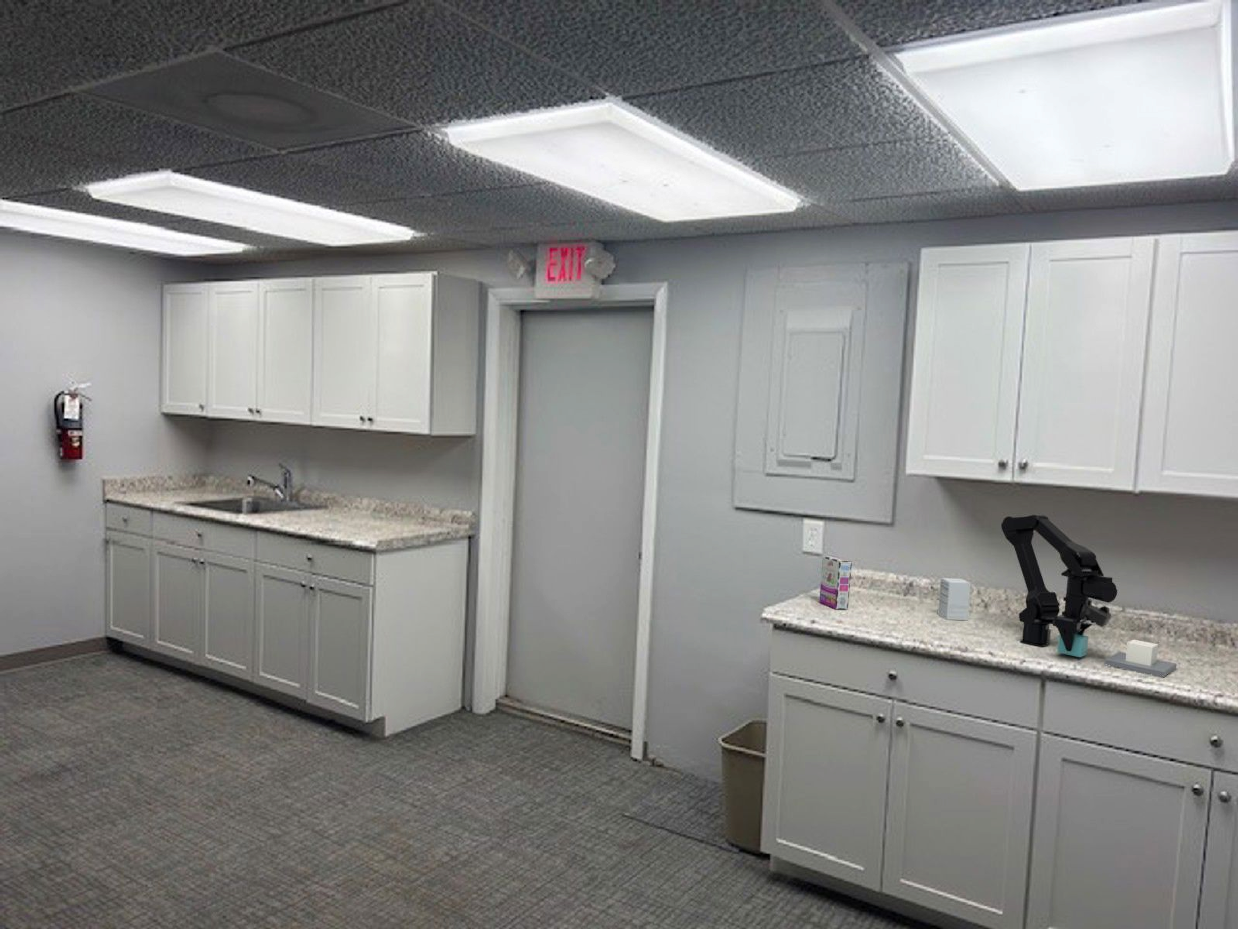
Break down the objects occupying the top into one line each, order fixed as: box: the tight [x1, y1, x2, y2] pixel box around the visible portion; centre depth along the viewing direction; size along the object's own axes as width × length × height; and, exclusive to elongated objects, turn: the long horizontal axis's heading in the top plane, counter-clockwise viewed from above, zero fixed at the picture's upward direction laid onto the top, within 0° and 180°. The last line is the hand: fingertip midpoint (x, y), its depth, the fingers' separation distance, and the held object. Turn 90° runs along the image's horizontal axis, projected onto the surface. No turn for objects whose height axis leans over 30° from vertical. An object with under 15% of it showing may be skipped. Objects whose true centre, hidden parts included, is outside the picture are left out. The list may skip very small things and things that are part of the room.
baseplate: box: [1104, 651, 1178, 679], centre depth 241 cm, size 14×14×2 cm
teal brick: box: [1057, 634, 1089, 658], centre depth 248 cm, size 6×6×5 cm
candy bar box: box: [818, 555, 853, 611], centre depth 297 cm, size 11×5×16 cm, turn 17°
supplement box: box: [937, 577, 972, 622], centre depth 290 cm, size 7×7×13 cm
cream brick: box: [1125, 639, 1159, 666], centre depth 241 cm, size 6×6×5 cm
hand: (1072, 649), depth 248 cm, fingers closed on teal brick, 6 cm apart
